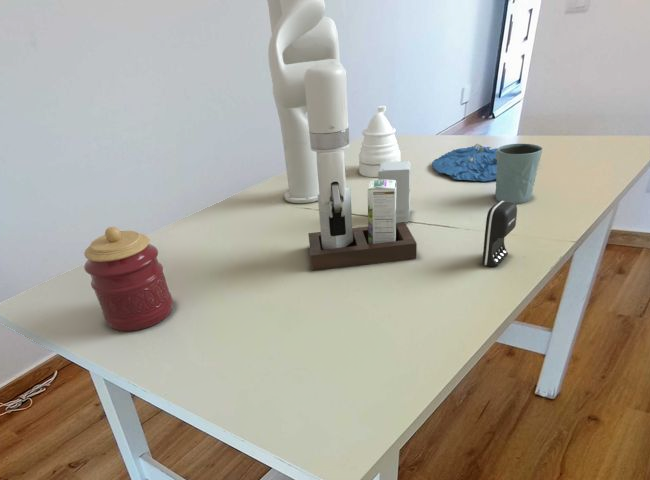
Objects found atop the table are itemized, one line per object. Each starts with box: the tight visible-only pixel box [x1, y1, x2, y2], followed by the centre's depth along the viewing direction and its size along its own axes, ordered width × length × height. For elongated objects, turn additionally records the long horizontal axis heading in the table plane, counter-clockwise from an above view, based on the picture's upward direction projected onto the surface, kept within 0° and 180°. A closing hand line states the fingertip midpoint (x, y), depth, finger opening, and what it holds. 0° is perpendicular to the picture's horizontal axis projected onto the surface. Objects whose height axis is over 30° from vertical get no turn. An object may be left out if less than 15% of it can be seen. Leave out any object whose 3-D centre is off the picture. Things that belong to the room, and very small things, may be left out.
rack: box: [307, 222, 418, 272], centre depth 108 cm, size 12×22×4 cm, turn 93°
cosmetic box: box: [317, 187, 353, 249], centre depth 104 cm, size 6×4×12 cm
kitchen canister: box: [83, 226, 174, 332], centre depth 91 cm, size 13×13×18 cm
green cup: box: [494, 143, 543, 205], centre depth 123 cm, size 10×10×12 cm
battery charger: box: [481, 201, 518, 267], centre depth 96 cm, size 7×4×11 cm, turn 142°
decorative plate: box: [431, 143, 498, 182], centre depth 148 cm, size 30×30×5 cm
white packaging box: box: [377, 160, 412, 223], centre depth 120 cm, size 7×7×13 cm
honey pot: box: [358, 105, 402, 178], centre depth 151 cm, size 13×13×18 cm
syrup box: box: [367, 179, 396, 244], centre depth 105 cm, size 6×6×14 cm
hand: (336, 227), depth 105 cm, fingers closed on cosmetic box, 7 cm apart
